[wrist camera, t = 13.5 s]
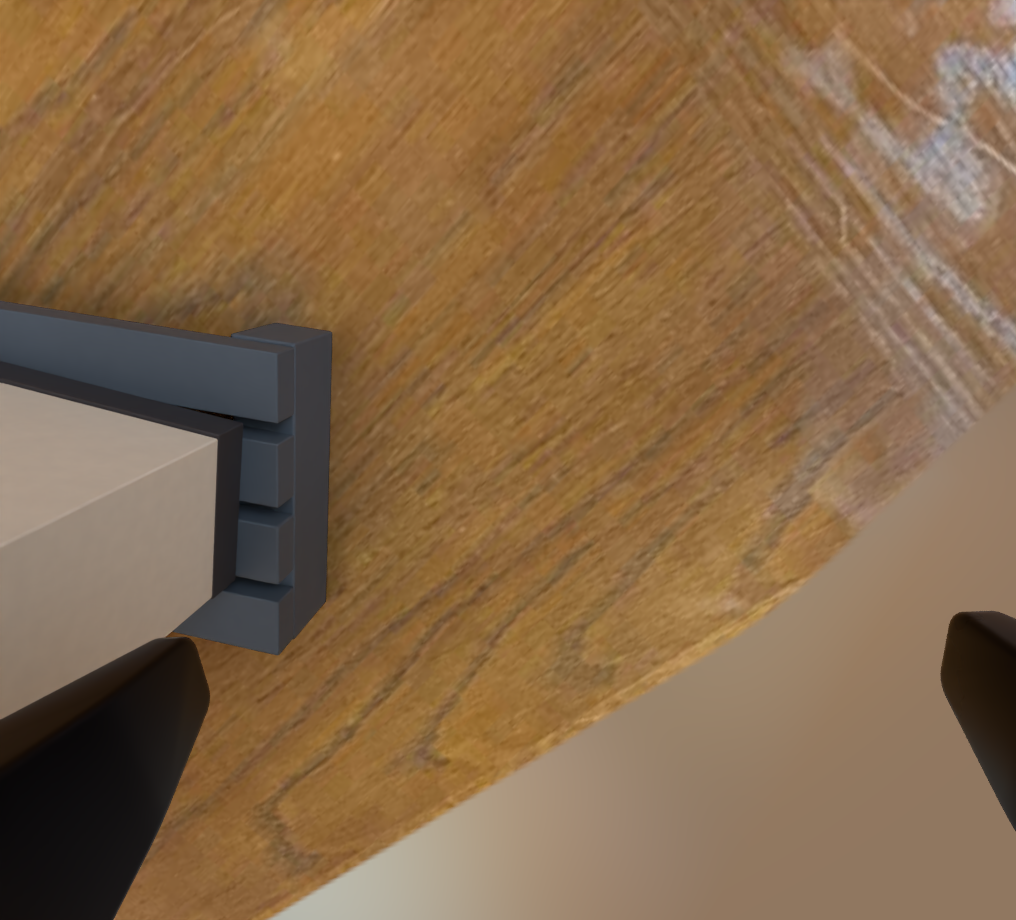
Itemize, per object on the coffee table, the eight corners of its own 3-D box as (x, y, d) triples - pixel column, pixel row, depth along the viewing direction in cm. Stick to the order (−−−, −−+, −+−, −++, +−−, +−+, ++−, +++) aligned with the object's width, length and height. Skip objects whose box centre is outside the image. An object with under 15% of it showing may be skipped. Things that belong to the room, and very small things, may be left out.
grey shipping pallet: (333, 331, 21) (277, 349, 17) (326, 601, 24) (278, 659, 21) (-100, 264, 23) (-223, 269, 19) (-49, 522, 26) (-146, 563, 23)
